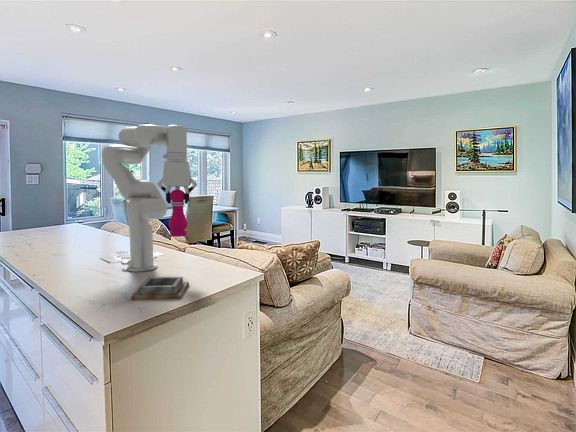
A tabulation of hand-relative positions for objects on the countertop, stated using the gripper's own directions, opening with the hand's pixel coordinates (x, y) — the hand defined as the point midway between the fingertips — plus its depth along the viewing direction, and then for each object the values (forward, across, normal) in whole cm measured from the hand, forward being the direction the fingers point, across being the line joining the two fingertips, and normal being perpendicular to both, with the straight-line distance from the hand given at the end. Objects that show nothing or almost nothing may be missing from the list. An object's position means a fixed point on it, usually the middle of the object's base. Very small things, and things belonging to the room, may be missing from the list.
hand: (177, 203), depth 139 cm
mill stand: (+31, -3, -17) cm, 35 cm away
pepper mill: (+13, 0, 0) cm, 13 cm away
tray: (+32, -32, +44) cm, 63 cm away
